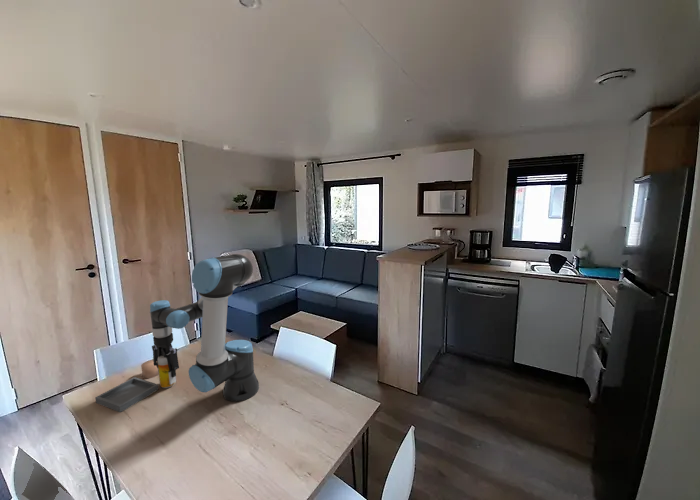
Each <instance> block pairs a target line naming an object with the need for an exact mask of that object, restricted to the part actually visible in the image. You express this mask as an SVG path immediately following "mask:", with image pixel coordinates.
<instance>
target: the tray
mask: <svg viewBox="0 0 700 500" xmlns="http://www.w3.org/2000/svg"><path fill="white" fill-rule="evenodd" d="M159 390H160V389H159V384H158V383H155V382H153V381H149V380H147V379H144V378H143V379H142V378H140V377H139V378H138V377H136V376H133V377H131V378H129V379H128V380H126V381H124V382H122V383H120V384H118V385H116V386H115V387H113V388H111V389H109V390H107V391H105V392H102V393H101V394H99V395H96V396H95V403H96V404H98V405H100V406H103V407H105V408H108V409H111V410H112V411H115V412H118V413H122V412H123V411H124V412H125V410H127V409H128V408H130V407H132V406H134V405H135V404H137V403H139V402H140V401H142V400H143V399H145V398H146V397H148V396H150V395H152V394H154V393H155V392H157V391H159Z"/></svg>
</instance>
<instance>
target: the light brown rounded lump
mask: <svg viewBox="0 0 700 500" xmlns="http://www.w3.org/2000/svg"><path fill="white" fill-rule="evenodd" d="M140 366H141V374H142V378H143V380H147V379H152V378H155V377H157V376H159V373H158V368H157V366H154V361H153V359H151V360H146V361H145V362H143V363H141V365H140Z"/></svg>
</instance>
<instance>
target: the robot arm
mask: <svg viewBox="0 0 700 500" xmlns="http://www.w3.org/2000/svg"><path fill="white" fill-rule="evenodd" d="M253 266H254V265H253V262H251V260H250V259H249V258H248V257H247V256H245V255H243V254H239V253H232V254H229V255H221V256H218V257H217V256H216V257H209V258H207V259H204V260H202V259H201V260H199V261H198V263H196V264H195V265H194V267H193V269H192V272H191V283H192V284H193V285H192V286H193V288H194V290H195V291H196V292H198V295H199V296H200V298H199V299H198V300H197V301H196V302H193V303H190V304H186V305H184V306H180V307H176V308H175V307H174V308H172V307H171V303H170V301H169V300H167V299H165V300H164V299H163V300H162V299H161V300H156V301H153V302H151V303H150V305H149V313H150V320H151V331H152V336H153V337H152V338H153V345H151V349H152V360H153V361H154V366H157V368H158V356H161V355H164V357H165V358H167V362H168V367H169V370H170V371H168V372H169V382H170V385H171V384H173V383H175V384H176V382H177V372H176V370H178V369H180V364H179V357H178V348H177V347H175V348H173V345H172V343H173V341H174V333H173V329H176V330H180V329H183V328H185V327H186V326H187V325H188V324H189V323H190V322H193V321H195V320H198V319H202V320H201V335H200V336H201V337H200V338H201V340H200V351H198V353H197V355H196V358H195V364H192V365H191V366H190V367H189V369H188V377H189V380H190V382H191V383H192V385H193V386H194V388H195V389H196V390H197V391H198V392H201V393H208V392H211V390H214V389H216V388H217V387H218V386H221V384H223V383H224V385H223V389H222V394H223V395H222V396H223V398H224V400H227V401H229V402H242V401H246V400H248V399H251V398H252V397H254V396H255V395H256V394H257V393H258V391H259V389H260V385H259V384H260V382H259V379H257V376H256V373H255V368H254V367H255V366H254V349H253V348H254V347H253V343H252V342H251V341H249V340H246V339H234V340H229V341H227V342H226V336H227V335H226V334H227V322H228V321H227V320H228V319H227V318H228V303H229V298H230V297H231V296H232V295H233V293H234V291H235V289H236V288H238V287H241V286H243V285H244V284H245V283H247V282H248V281H249V280H250V279H251V277H252V275H253V273H254V267H253ZM169 353H170V354H169ZM167 354H168V355H167ZM158 373H159V368H158ZM158 378H159V379H158V380H159V382H160V377H159V376H158Z"/></svg>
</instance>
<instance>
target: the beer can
mask: <svg viewBox="0 0 700 500" xmlns="http://www.w3.org/2000/svg"><path fill="white" fill-rule="evenodd" d="M169 354H170V353H169ZM167 355H168V354H167ZM158 368H159V374H158V378H159V377H160V381H159V385H160V388H162V389H169V388H172V387H174V385H175V384H176V382H175V383H173V384H171V385H170V382H169V372H168V371H170V370H169V367H168V362H167V358H165V357H164V355H161V356H158Z"/></svg>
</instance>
